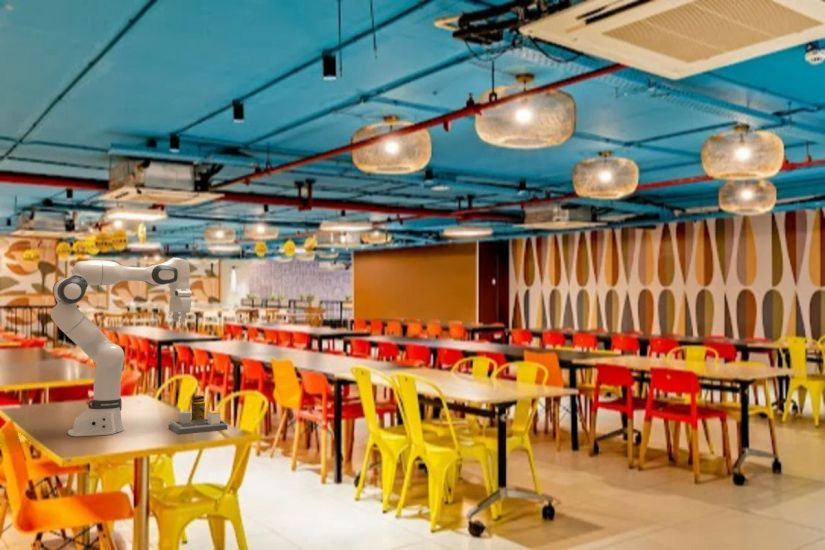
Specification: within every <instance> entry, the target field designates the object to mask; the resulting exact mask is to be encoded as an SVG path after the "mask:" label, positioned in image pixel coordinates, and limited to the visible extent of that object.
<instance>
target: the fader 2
mask: <svg viewBox="0 0 825 550" xmlns="http://www.w3.org/2000/svg"><path fill="white" fill-rule="evenodd" d="M207 419H208V424H220V419H221V412H220V411H219V410H209V411H208V412H207Z"/></svg>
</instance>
